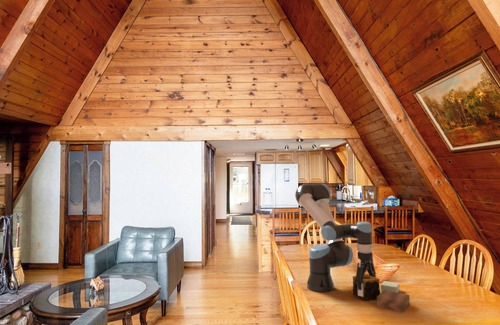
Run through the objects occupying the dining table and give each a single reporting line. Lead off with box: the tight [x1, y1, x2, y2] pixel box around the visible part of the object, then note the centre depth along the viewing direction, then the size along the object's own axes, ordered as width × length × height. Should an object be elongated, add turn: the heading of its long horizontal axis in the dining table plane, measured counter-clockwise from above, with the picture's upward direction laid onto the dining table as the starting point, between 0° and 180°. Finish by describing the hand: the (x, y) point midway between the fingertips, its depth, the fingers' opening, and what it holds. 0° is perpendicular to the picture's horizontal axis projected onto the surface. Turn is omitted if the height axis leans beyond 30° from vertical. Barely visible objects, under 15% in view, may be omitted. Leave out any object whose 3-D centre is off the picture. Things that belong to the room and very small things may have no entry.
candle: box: [352, 273, 381, 302], centre depth 175 cm, size 10×10×10 cm
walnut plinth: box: [376, 290, 411, 313], centre depth 162 cm, size 12×12×5 cm
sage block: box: [380, 280, 400, 293], centre depth 183 cm, size 8×8×4 cm
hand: (366, 292), depth 175 cm, fingers closed on candle, 13 cm apart
